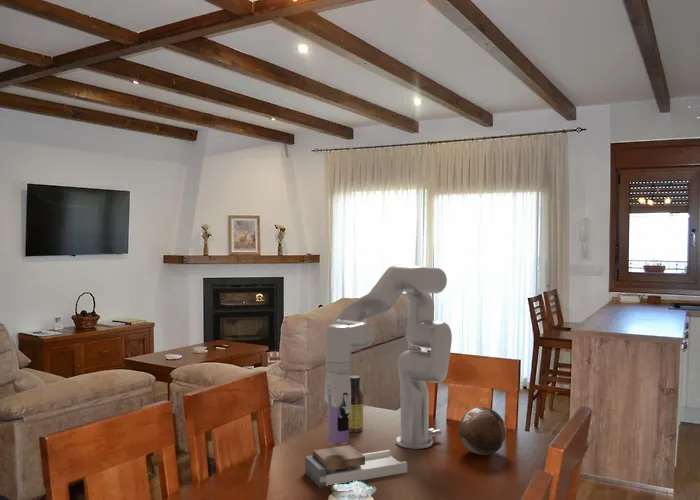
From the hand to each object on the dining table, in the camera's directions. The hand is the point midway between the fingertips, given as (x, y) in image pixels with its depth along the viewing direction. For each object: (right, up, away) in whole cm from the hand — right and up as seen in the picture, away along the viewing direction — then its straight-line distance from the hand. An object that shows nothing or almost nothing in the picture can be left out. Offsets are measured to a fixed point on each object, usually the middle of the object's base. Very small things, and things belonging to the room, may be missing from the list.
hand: (338, 426), depth 185 cm
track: (+5, -14, +3) cm, 16 cm away
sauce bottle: (+5, -14, +43) cm, 45 cm away
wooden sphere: (+46, -14, +19) cm, 52 cm away
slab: (0, -13, 0) cm, 13 cm away
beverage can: (0, -5, 0) cm, 5 cm away
